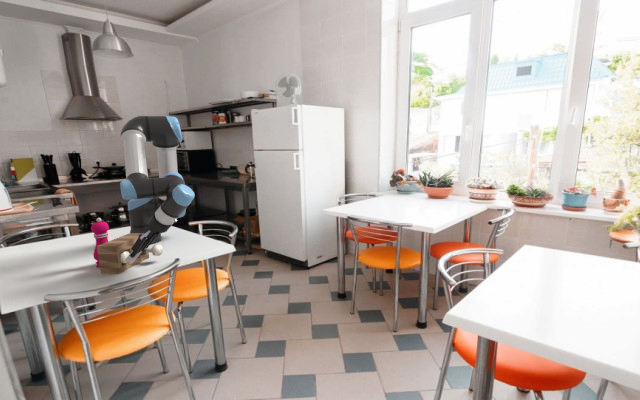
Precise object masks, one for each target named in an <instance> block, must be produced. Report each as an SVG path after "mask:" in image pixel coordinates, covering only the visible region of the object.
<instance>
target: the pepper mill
mask: <svg viewBox="0 0 640 400" xmlns="http://www.w3.org/2000/svg"><path fill="white" fill-rule="evenodd" d="M95 221H96V222H93V223H92V224H91V227H90V229H91V230H90V231H91V232H92V233H93V238H94V239H95V247H94V250H93V255H92V256H93V259H94V260H95V261H96V262H95V266H96V267H97V268H100V264H99V258H98V251H97V246H98V245H101V244H103V243H106V242H109V232H108V231H109V230H110V226H109V224H108V223H107V222H106V221H104V220H103V221H102V218H101V217H97V218H96V220H95Z"/></svg>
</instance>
